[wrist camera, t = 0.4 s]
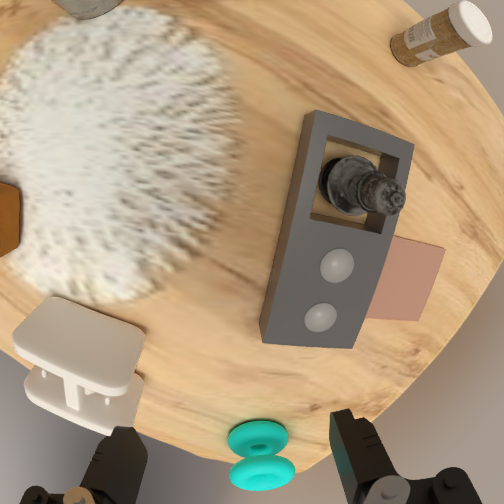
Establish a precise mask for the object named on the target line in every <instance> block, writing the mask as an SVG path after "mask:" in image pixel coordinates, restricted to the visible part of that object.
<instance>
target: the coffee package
mask: <svg viewBox="0 0 504 504" xmlns="http://www.w3.org/2000/svg"><path fill="white" fill-rule="evenodd" d="M19 212H20V201H19V190H18V189H17V188H15V187H13V186H10V185H7V184H4V183H0V258H1V257H2V256H4V255H5V254H7V253H9V252H11V251H12V250H14V249H16V248H17V247H18V244H19Z"/></svg>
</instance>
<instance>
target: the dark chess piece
mask: <svg viewBox="0 0 504 504" xmlns="http://www.w3.org/2000/svg"><path fill="white" fill-rule="evenodd" d="M319 187H320V190H321V193H322V195H323V196H324V198H325V199H326V200H327V201H328V202H329V203H331V204H333V206H334V207H335V208H336V209H337V210H339V211H340V212H342V213H344V214H346V215H351V216H357V215H362V214H364V213H367V212H370V213H375V212H379V213H382V214H384V215H395V214H397V213H398V212H400V211H401V209H402V208H403V206H404V204H405V200H406V194H405V190H404V187H403V186H402V184H401V183H400V182H398V181H397V180H395V179H392V178H388V177H386V176H385V175H384V174H383V173H381V172H379V171H378V170H377V168H376V167H375V166H374V165H373V164H372V162H371V161H369V160H367V159H366V158H364V157H360V156H348V157H345V158H336V159H333V160H331V161H330V162H328V163H327V164H326V165H325V166H324V168H323V169H322V171H321V173H320V178H319Z"/></svg>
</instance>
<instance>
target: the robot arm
mask: <svg viewBox="0 0 504 504" xmlns="http://www.w3.org/2000/svg"><path fill="white" fill-rule="evenodd" d="M51 1H52V2H54V3H55V4H57V5H58V6H59V7H61V8H62V9H63V10H65V11H66V12H67V13H69V14H70V15H71V16H73V17H75V18H78V19H89V18H94V17H97V16H99V15H102V14H104V13H106V12H108V11H109V10H111V9H112V8H114V7H115V6H117V5H118V4H119V3H120V2H121V1H123V0H51ZM329 440H330V446H331V450H332V453H333V456H334V459H335V462H336V465H337V469H338V472H339V475H340V479H341V482H342V485H343V488H344V492H345V495H346V498H347V502H348V504H482V502H481V500H480V498H479V496H478V494H477V492H476V490H475V489H474V487H473V485H472V483H471V481H470V479H469V477H468V475H467V474H466V472H465V471H464V470H462V469H460V468H457V467H450V468H446V469H444V470H442V471H440V472H439V473H438V474H437V475H436V477H433V478H427V479H420V480H409V479H405V478H403V477H401V476H400V475H399V474H398V473H397V472H396V471H395V469H394V467H393V465H392V462H391V461H390V458H389V456H388V454H387V452H386V450H385V448H384V446H383V444H382V443H381V440H380V438H379V436H378V434H377V432H376V429H375V427H374V425H373V424H372V423H371V422H369V421H368V420H367V419H365V418H364V417H363V418H359V419H354V417H353V415H352V412H351V410H350V409H344V410H340V411H336V412H331V413H330V428H329ZM147 459H148V455H147V450H146V447H145V446H144V444H143V443H142V441H141V439H140V437H139V436H138V434H137V432H136V430H135V429H134V428H133V427H125V426H115V427H114V429H113V431H112V433H111V436H106V437H105V438H104V439H103V440H102V441H101V442H100V443H99V444H98V447H97V449H96V451H95V454H94V456H93V458H92V461H91V462H90V464H89V466H88V469H87V471H86V473H85V475H84V478H83V480H82V482H81V484H80V486H79V487H74V488H71V489H69V490H68V491H67V492H66V493H65V494H49V493H48V492H47V491H46V490H45V489H44V488H42V487H40V486H32V487H30V488H28V489H27V490H26V491H25V493H24V495H23V497H22V499H21V502H20V504H135V503H136V499H137V495H138V492H139V488H140V484H141V481H142V477H143V474H144V470H145V467H146V463H147Z"/></svg>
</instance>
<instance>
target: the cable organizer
mask: <svg viewBox="0 0 504 504" xmlns="http://www.w3.org/2000/svg"><path fill="white" fill-rule="evenodd" d="M12 341H13V346H14V349H15V351H16V352H17V354H18V355H19V356H21V357H22V358H24V359H26V360H28V361H30V362H31V363H33V364H35V366H34V367H33V368H32V370H31V371H30V373H29V374H28V376H27V377H26V379H25V380H24V388H25V391H26V395H27V397H28V398H29V399H30V400H31V401H32V402H33V403H35V404H37V405H38V406H40V407H42V408H44V409H46V410H48V411H50V412H52V413H54V414H56V415H58V416H61V417H63V418H65V419H67V420H69V421H72V422H74V423H76V424H78V425H81V426H83V427H86V428H88V429H91V430H93V431H96V432H99V433H101V434H104V435H107V436H111V433H112V431H113V429H114V427H115V426H125V427H133V423H134V419H135V416H136V412H137V408H138V405H139V401H140V398H141V394H142V390H143V385H144V382H143V380H142V378H141V377H140V376H139V375H137V374H136V373H134V371H135V369H136V366H137V363H138V360H139V358H140V355H141V352H142V350H143V347H144V342H145V334H144V333H143V331H142V330H140V329H139V328H138V327H136V326H134V325H131V324H129V323H127V322H124V321H121V320H118V319H115V318H112V317H109V316H106V315H103V314H101V313H98V312H95V311H93V310H90V309H88V308H85V307H84V306H81V305H79V304H76V303H74V302H71V301H69V300H66V299H63V298H60V297H49V298H46V299H45V300H44V301H43V302H42V303H41V304H40V305H39V306H38V307H37V308H36V309H35V310H34V311H33V312H32V313H31V314H30V315H29V316H28V317H27V318H26V319H25V320H24V321H23V322H22V323H21V324H20V325H19V326H18V327H17V328H16V329H15V330H14V332H13V333H12Z"/></svg>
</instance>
